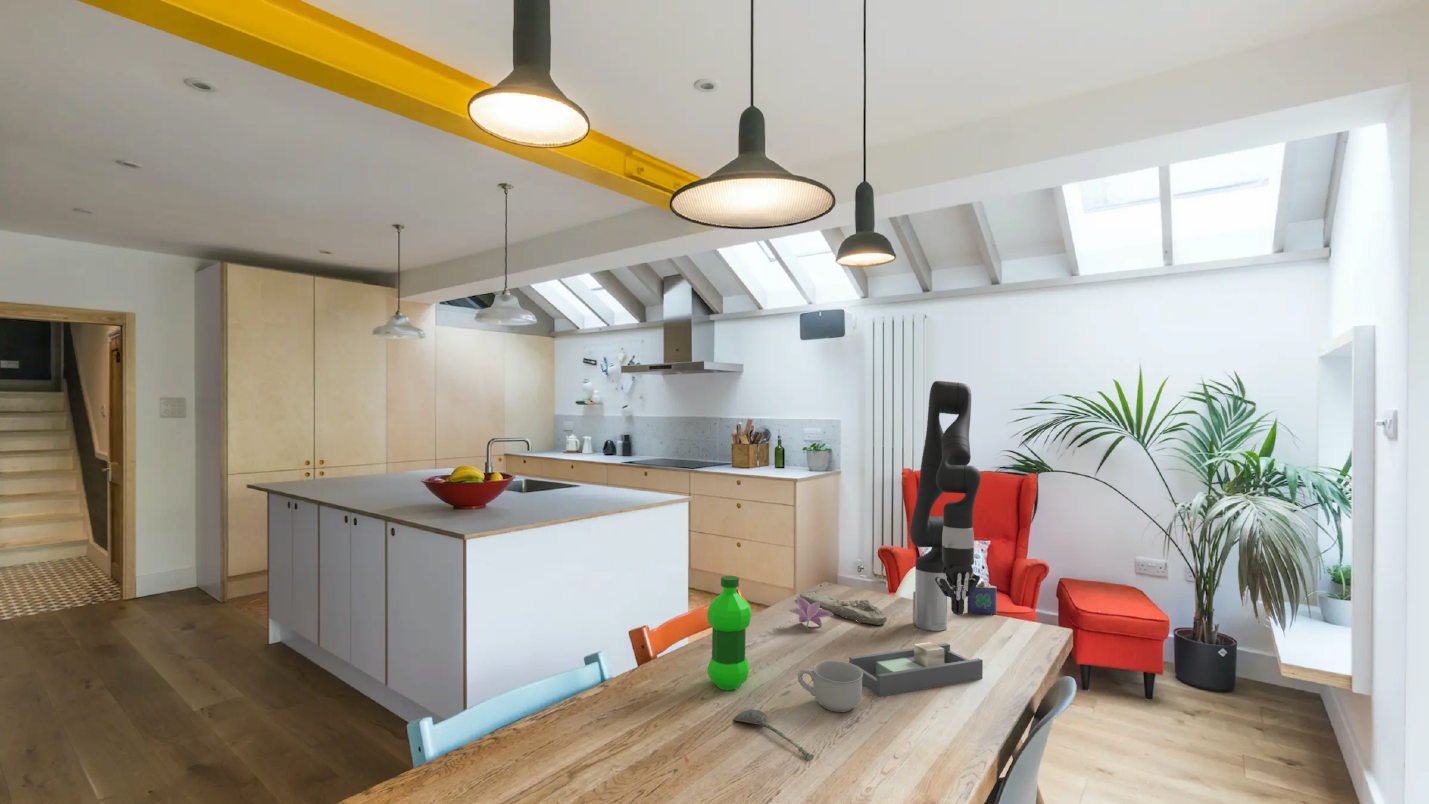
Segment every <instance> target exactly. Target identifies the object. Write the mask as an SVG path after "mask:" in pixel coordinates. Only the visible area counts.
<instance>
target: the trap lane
mask: <svg viewBox="0 0 1429 804" xmlns="http://www.w3.org/2000/svg"><path fill="white" fill-rule="evenodd" d="M937 645H938V646H940V647H942V648H944V664H940V665H934V666H927V667H925V666H923V665H921V664H920V663H918V662H916V661H914V647H911V648H905V649H898V650H891V651H890V650H889V651H883V652H875V653H870V654H863V655H858V656H856V655H855V656H849V657H848V663H851V664H853V665H855V666H857V667H859V668H860V669H861V670H862V672H863V677H862V687H865V688H866V689H868V690H870V691H871V692H872V693H874V694H875V695H877V696H879V697H884V696H886V697H887V696H890V695H898V694H903V693H907V692H914V691H920V690H926V689H930V688H937V687H942V686H947V685H954V684H961V683H964V682H970V681H976V680H982V679H983V666H984V665H983V659H981V658H978V657H977V658H972V659H969V658H966V657H964V656H962V655H961V654H958V653H955V652H954V651H952V650H951V644H949V643H938V644H937ZM874 675H876V677H875V676H874Z"/></svg>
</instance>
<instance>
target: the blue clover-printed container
mask: <svg viewBox="0 0 1429 804" xmlns="http://www.w3.org/2000/svg"><path fill="white" fill-rule="evenodd" d="M997 588H998V587H997V586H995V585H986V582H985V581H984V580H980V583H978V584H977V585H976V587H975V589H974V591H973V592H972V594H971V596H967V597H966V598H967V603H966V605H967V614H969V615H972V614H973V615H975V616H976V615H977V616H996V615H997V613H998V612H997ZM968 589H969V588H968ZM968 589H967V590H968ZM991 614H992V615H991Z"/></svg>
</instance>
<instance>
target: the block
mask: <svg viewBox="0 0 1429 804" xmlns="http://www.w3.org/2000/svg"><path fill="white" fill-rule="evenodd" d="M913 648H914V661H916V662H918V663H920V664H921V665H923V666H925V667H927V666H934V665H940V664H944V648H942V647H940V646H938V644H936V643H934V642H931V641H928V642H922V643H921V642H920V643H915V644H914V645H913Z"/></svg>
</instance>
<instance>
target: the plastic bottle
mask: <svg viewBox="0 0 1429 804" xmlns="http://www.w3.org/2000/svg"><path fill="white" fill-rule="evenodd" d="M739 585H740V578H739V576H736V575H723V576H721V577H720V586H721V587H722V592H721V593H720V594H718V595H717V596H716V597H715V598H714V599H713V600H712V601H711V602H710V603H709V606H708V608H707V611H706V614H707V616H706V617H707V623H708V624H709V625H710V626H711V628H712V634H711V635H712V641H711V642H712V643H711V645H712V646H711V658H710V659H709V660H710V661H709V662H708V666H707V675H708V677H709V679H710V681H711V682H713V683H714V684H715V685H716V686H717V688H719V689H720V690H724V689H725V691H734V690H736V689H738V688H739V687H740V686H742V685H743V684H744V683H745V682H746V681H747V678H748V676H749V674H750V673H749V671H750V664H749V661H748V659H747V656H746V635H747V634H746V630H747V627H749V626H750V623H751V618H752V607H751V605H750V603H749V602H748V601H747V600H746V599H745V598H744V597H743V596H742V595H740V594H739V593H738V592H737V588H738V587H739ZM733 689H734V690H733Z"/></svg>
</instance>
